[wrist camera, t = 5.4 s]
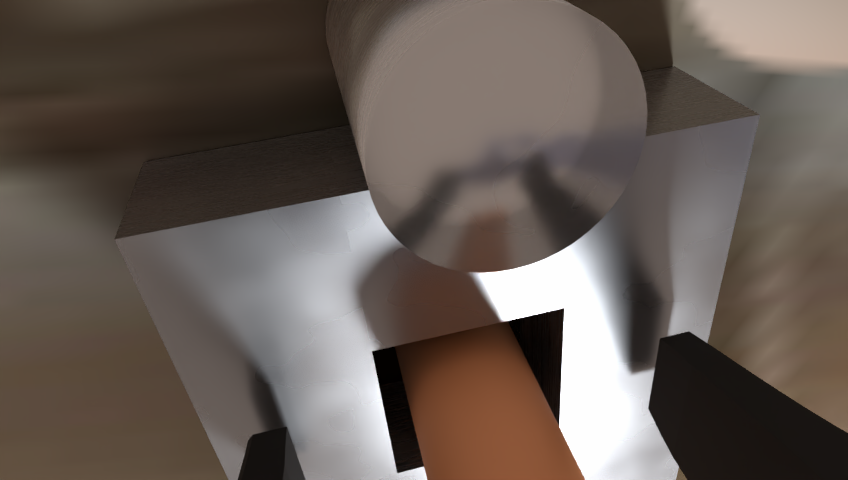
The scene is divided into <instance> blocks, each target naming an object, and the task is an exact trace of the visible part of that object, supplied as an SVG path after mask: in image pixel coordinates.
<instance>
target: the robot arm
mask: <svg viewBox="0 0 848 480" xmlns="http://www.w3.org/2000/svg"><path fill="white" fill-rule="evenodd" d="M648 409H649V411H650V414H651V416H652V418H653V420H654V422H655V424H656V426H657V428H658V430H659V432H660V434H661V436H662V438H663V440H664V441H665V443H666V445H667V447H668V449H669V451H670V453H671V455H672V457H673V458H674V460H675V461H676V463H677V464H678V466H679V467H680V469H681V471H682V472H683V474H684V475H685V477H686V478H687V480H848V433H847V432H845V431H843V430H841V429H840V428H838V427H836V426H835V425H833V424H831V423H830V422H828V421H826V420H825V419H823V418H821V417H820V416H818V415H816V414H815V413H813V412H811V411H810V410H808V409H807V408H805V407H803V406H802V405H800V404H799V403H797V402H795V401H794V400H792V399H791V398H789V397H788V396H786V395H785V394H783V393H781V392H780V391H778V390H777V389H775V388H774V387H772V386H771V385H769V384H768V383H766V382H764V381H763V380H761V379H760V378H758V377H757V376H755V375H754V374H752V373H751V372H749V371H748V370H746V369H745V368H743V367H742V366H740V365H739V364H737V363H736V362H734V361H733V360H732V359H730V358H729V357H727V356H726V355H724V354H723V353H721V352H720V351H718V350H717V349H715V348H714V347H712V346H711V345H709V344H708V343H706V342H705V341H703V340H702V339H700V338H699V337H697V336H696V335H694V334H692V333H691V332H689V331H688V332H684V333H680V334H676V335H671V336H667V337H663V338H660V340H659V346H658V352H657V358H656V364H655V370H654V376H653V382H652V388H651V394H650V400H649V406H648ZM238 480H306V479H305V476H304V474H303V471H302V468H301V465H300V462H299V459H298V457H297V454H296V451H295V448H294V445H293V442H292V440H291V437H290V434H289V431H288V428H287V427H283V428H278V429H274V430H270V431H266V432H261V433H257V434H253V435H252V436H251V437H250V438H249V440H248V442H247V447H246V451H245V455H244V459H243V462H242V466H241V470H240V473H239V477H238Z"/></svg>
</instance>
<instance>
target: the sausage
mask: <svg viewBox="0 0 848 480" xmlns="http://www.w3.org/2000/svg"><path fill="white" fill-rule="evenodd" d="M395 350H396V354H397V358H398V362H399V366H400V370H401V374H402V378H403V382H404V386H405V391H406V395H407V399H408V403H409V407H410V411H411V415H412V419H413V423H414V427H415V431H416V435H417V439H418V444H419V448H420V452H421V456H422V460H423V464H424V468H425V472H426V476H427V480H585V478H584V476H583V474H582V472H581V470H580V468H579V466H578V464H577V462H576V460H575V458H574V456H573V454H572V452H571V450H570V448H569V445H568V443H567V441H566V439H565V437H564V435H563V433H562V431H561V429H560V427H559V425H558V423H557V421H556V419H555V417H554V415H553V413H552V411H551V409H550V407H549V405H548V403H547V400H546V398H545V396H544V394H543V392H542V390H541V388H540V386H539V384H538V382H537V380H536V378H535V376H534V374H533V372H532V370H531V368H530V366H529V364H528V362H527V360H526V358H525V355H524V353H523V351H522V349H521V347H520V345H519V343H518V341H517V339H516V337H515V335H514V333H513V331H512V329H511V327H510V325H509V323H508V321H504V322H500V323H495V324H491V325H486V326H482V327H477V328H473V329H469V330H464V331H460V332H455V333H451V334H446V335H442V336H438V337H433V338H429V339H424V340H420V341H415V342H411V343H407V344H402V345H398V346H395Z"/></svg>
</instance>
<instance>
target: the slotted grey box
mask: <svg viewBox="0 0 848 480" xmlns="http://www.w3.org/2000/svg"><path fill="white" fill-rule="evenodd" d="M325 31H326V40H327V45H328V49H329V53H330V57H331V60H332V64H333V67H334V71H335V74H336V78H337V81H338V84H339V88H340V91H341V95H342V98H343V102H344V105H345V109H346V112H347V116H348V119H349V123H350V125H346V126H341V127H335V128H330V129H324V130H319V131H313V132H308V133H302V134H296V135H291V136H285V137H280V138H274V139H269V140H263V141H258V142H252V143H246V144H241V145H235V146H230V147H224V148H219V149H213V150H208V151H202V152H196V153H191V154H185V155H180V156H174V157H169V158H163V159H158V160H152V161H146V162H144V163H143V166H142V168H141V171H140V174H139V176H138V179H137V182H136V184H135V187H134V189H133V192H132V195H131V197H130V200H129V203H128V205H127V208H126V210H125V213H124V216H123V218H122V221H121V224H120V226H119V229H118V231H117V234H116V237H115V239H114V240H115V242H116V244H117V246H118V248H119V250H120V252H121V254H122V256H123V258H124V261H125V263H126V265H127V267H128V269H129V271H130V273H131V275H132V277H133V279H134V282H135V284H136V286H137V288H138V290H139V292H140V294H141V296H142V298H143V301H144V303H145V305H146V307H147V309H148V311H149V313H150V315H151V317H152V319H153V322H154V324H155V326H156V328H157V330H158V332H159V334H160V336H161V338H162V340H163V343H164V345H165V347H166V349H167V351H168V353H169V355H170V357H171V359H172V362H173V364H174V366H175V368H176V370H177V372H178V374H179V376H180V378H181V380H182V383H183V385H184V387H185V389H186V391H187V393H188V395H189V397H190V399H191V401H192V404H193V406H194V408H195V410H196V412H197V414H198V416H199V418H200V420H201V423H202V425H203V427H204V429H205V431H206V433H207V435H208V437H209V439H210V441H211V444H212V446H213V448H214V450H215V452H216V454H217V456H218V458H219V460H220V462H221V465H222V467H223V469H224V471H225V473H226V475H227V477H228V479H229V480H238V477H239V473H240V470H241V466H242V462H243V459H244V455H245V451H246V447H247V442H248V440H249V438H250V437H251V436H252V435H253V434H257V433H261V432H266V431H270V430H274V429H278V428H283V427H287V428H288V431H289V434H290V437H291V440H292V442H293V445H294V448H295V451H296V454H297V457H298V459H299V462H300V465H301V468H302V471H303V474H304V476H305V479H306V480H427V476H426V472H425V468H424V464H423V460H422V456H421V452H420V448H419V444H418V439H417V435H416V431H415V427H414V423H413V419H412V415H411V411H410V407H409V403H408V399H407V395H406V391H405V386H404V382H403V380H402V381H398V382H394V383H389V384H385V385H381V386H379V382H378V377H377V372H376V367H375V362H374V358H373V353H372V351H376V350H380V349H384V348H389V347H393V346H398V345H402V344H407V343H411V342H415V341H420V340H424V339H429V338H433V337H438V336H442V335H446V334H451V333H455V332H460V331H464V330H469V329H473V328H477V327H482V326H486V325H491V324H495V323H500V322H504V321H508V320H513V319H517V318H520V347H521V349H522V351H523V353H524V355H525V358H526V360H527V362H528V364H529V366H530V368H531V370H532V372H533V374H534V376H535V378H536V380H537V382H538V384H539V386H540V388H541V390H542V392H543V394H544V396H545V398H546V400H547V403H548V405H549V407H550V409H551V411H552V413H553V415H554V417H555V419H556V421H557V423H558V425H559V427H560V429H561V431H562V433H563V435H564V437H565V439H566V441H567V443H568V445H569V448H570V450H571V452H572V454H573V456H574V458H575V460H576V462H577V464H578V466H579V468H580V470H581V472H582V474H583V476H584V478H585V480H676V477H677V472H678V468H679V466H678V464H677V463H676V461H675V460H674V458H673V457H672V455H671V453H670V451H669V449H668V447H667V445H666V443H665V441H664V440H663V438H662V436H661V434H660V432H659V430H658V428H657V426H656V424H655V422H654V420H653V418H652V416H651V414H650V411H649V409H648V406H649V400H650V394H651V388H652V382H653V376H654V370H655V364H656V358H657V352H658V346H659V340H660V338H663V337H667V336H671V335H676V334H680V333H684V332H688V331H689V332H691V333H692V334H694V335H696V336H697V337H699V338H700V339H702V340H703V341H705V342H706V343H707V342H708V338H709V333H710V329H711V325H712V320H713V316H714V312H715V307H716V303H717V299H718V294H719V290H720V286H721V281H722V277H723V273H724V268H725V264H726V260H727V255H728V251H729V247H730V242H731V238H732V234H733V229H734V225H735V221H736V216H737V212H738V208H739V203H740V199H741V195H742V190H743V186H744V182H745V177H746V173H747V169H748V164H749V160H750V156H751V151H752V147H753V143H754V138H755V134H756V130H757V125H758V121H759V117H760V114H758V113H756V112H755V111H753V110H751V109H749V108H748V107H746V106H744V105H742V104H740V103H739V102H737V101H735V100H733V99H732V98H730V97H728V96H726V95H724V94H723V93H721V92H719V91H717V90H716V89H714V88H712V87H710V86H708V85H707V84H705V83H703V82H701V81H700V80H698V79H696V78H694V77H692V76H691V75H689V74H687V73H685V72H683V71H682V70H680V69H678V68H676V67H675V66H674V67H669V68H663V69H658V70H652V71H647V72H641V73H640V70H639V68H638V65H637V63H636V60H635V59H634V57H633V55H632V54H631V52H630V50H629V49H628V47H627V46H626V44H625V43H624V42H623V41H622V40H621V39H620V37H619V36H618V35H617V34H616V33H615V32H614V31H613V30H612V29H610V28H609V27H608V26H607V25H606V24H604V23H603V22H602V21H600V20H599V19H597V18H595V17H594V16H592V15H590V14H589V13H587V12H585V11H583V10H581V9H580V8H578V7H576V6H574V5H572V4H570V3H569V2H567V1H565V0H329V2H328V5H327V12H326V25H325Z"/></svg>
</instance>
